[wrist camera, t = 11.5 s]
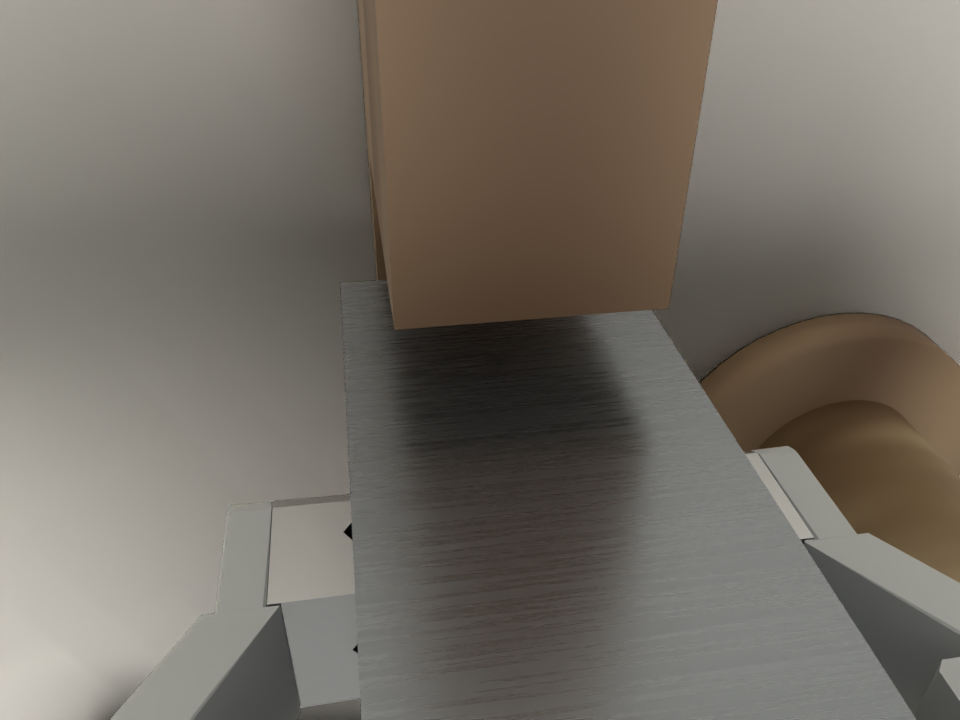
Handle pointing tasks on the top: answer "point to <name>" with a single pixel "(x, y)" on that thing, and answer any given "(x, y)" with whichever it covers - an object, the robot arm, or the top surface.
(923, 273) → the top surface
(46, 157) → the top surface
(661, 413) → the block
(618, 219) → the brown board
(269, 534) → the robot arm
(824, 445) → the bobbin
